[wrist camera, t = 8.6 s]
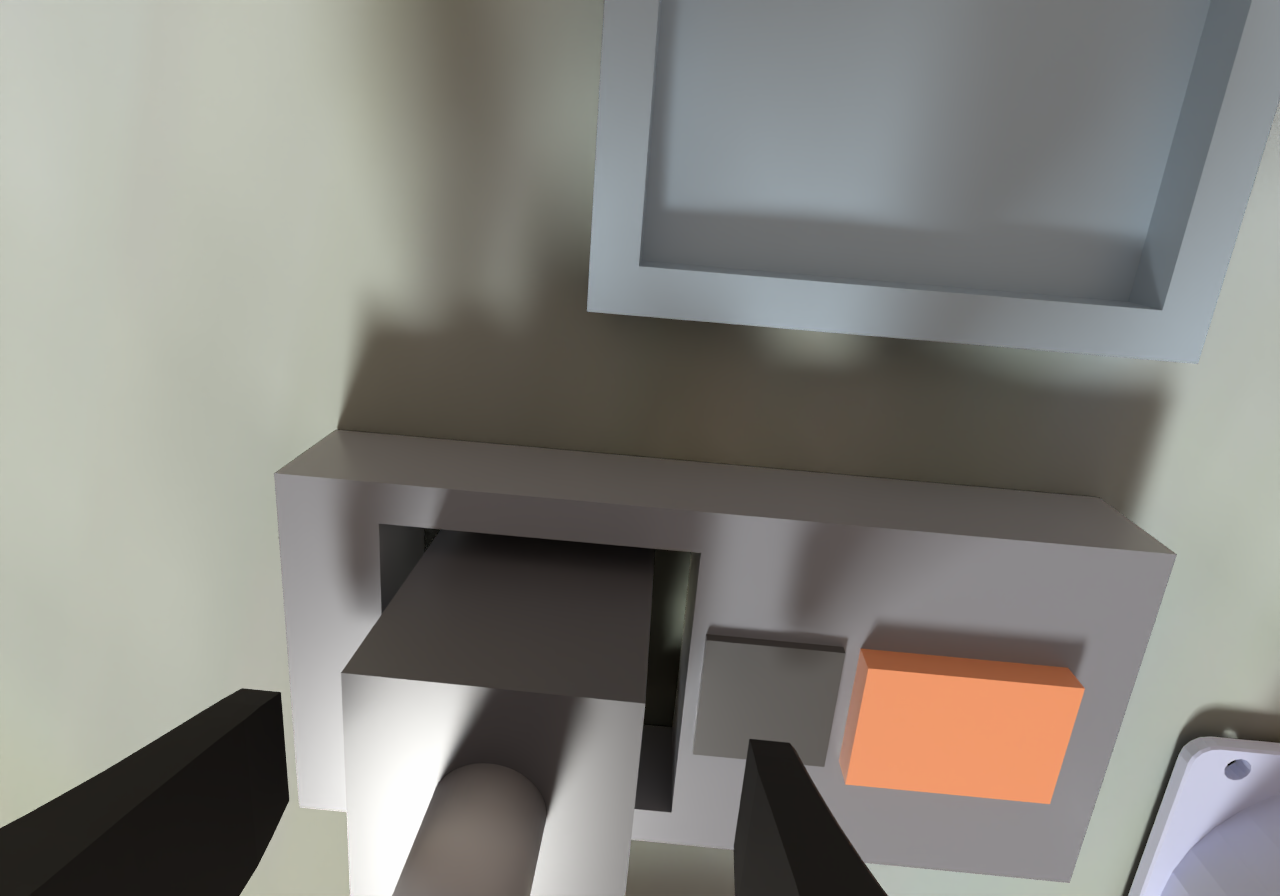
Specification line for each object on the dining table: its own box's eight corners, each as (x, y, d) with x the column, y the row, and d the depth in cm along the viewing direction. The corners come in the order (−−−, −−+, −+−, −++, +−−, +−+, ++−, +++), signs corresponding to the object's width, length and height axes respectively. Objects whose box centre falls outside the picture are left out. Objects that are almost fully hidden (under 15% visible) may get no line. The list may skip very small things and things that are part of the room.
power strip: (1098, 497, 15) (1200, 571, 12) (1016, 788, 17) (1084, 909, 15) (335, 429, 16) (256, 486, 13) (349, 724, 18) (284, 831, 15)
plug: (657, 519, 16) (638, 821, 8) (640, 686, 17) (609, 1082, 10) (460, 500, 16) (265, 782, 8) (458, 668, 17) (285, 1046, 10)
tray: (1341, -351, 11) (1445, -437, 10) (1143, 345, 14) (1197, 363, 13) (637, -400, 11) (631, -490, 10) (596, 298, 14) (586, 311, 13)
